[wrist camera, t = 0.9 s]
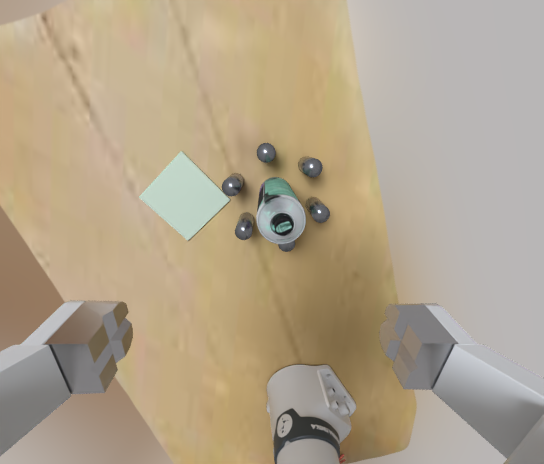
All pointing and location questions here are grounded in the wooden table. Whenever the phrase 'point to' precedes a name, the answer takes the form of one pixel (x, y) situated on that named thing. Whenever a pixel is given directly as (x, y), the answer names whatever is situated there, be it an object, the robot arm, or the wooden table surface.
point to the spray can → (279, 212)
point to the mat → (184, 196)
